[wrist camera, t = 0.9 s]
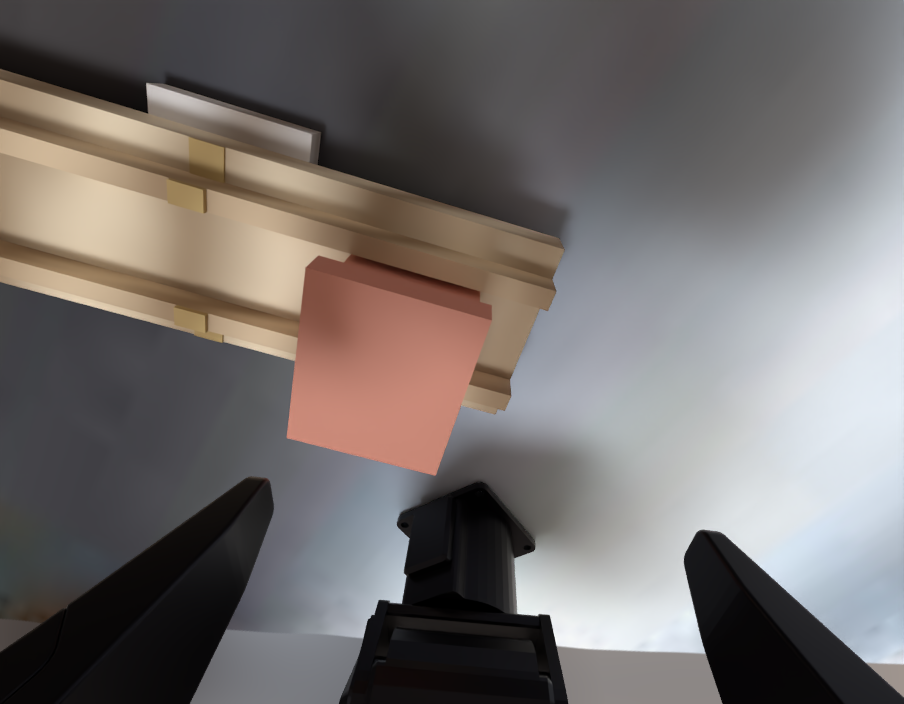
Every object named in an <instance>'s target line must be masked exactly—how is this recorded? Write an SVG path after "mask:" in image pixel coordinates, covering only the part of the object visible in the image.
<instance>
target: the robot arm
mask: <svg viewBox="0 0 904 704" xmlns="http://www.w3.org/2000/svg"><path fill="white" fill-rule="evenodd" d="M479 491H481V492H479ZM273 510H274V503H273V497H272V490H271V484H270V481H269V480H268V479H267V478H261V477H252V476H251V477H248V478H246V479H244V480H243V481H241V482H240V483H238V484H237V485H236V486H234V487H233V488H231V489H230V490H229V491H227V492H226V493H224V494H223V495H222V496H220V497H219V498H217V499H216V500H215V501H213V502H212V503H210V504H209V505H208V506H206V507H205V508H203V509H202V510H200V511H199V512H198V513H196V514H195V515H193V516H192V517H191V518H189V519H188V520H186V521H185V522H184V523H182V524H181V525H179V526H178V527H177V528H175V529H174V530H172V531H171V532H170V533H168V534H167V535H165V536H164V537H163V538H161V539H160V540H158V541H157V542H156V543H154V544H153V545H151V546H150V547H149V548H147V549H146V550H144V551H143V552H142V553H140V554H139V555H137V556H136V557H134V558H133V559H132V560H130V561H129V562H127V563H126V564H125V565H123V566H122V567H120V568H119V569H118V570H116V571H115V572H113V573H112V574H111V575H109V576H108V577H106V578H105V579H104V580H102V581H101V582H99V583H98V584H97V585H95V586H94V587H92V588H91V589H90V590H88V591H87V592H85V593H84V594H83V595H81V596H80V597H78V598H77V599H76V600H74V601H73V602H71V603H70V604H69V605H68V606H67V609H65V608H63V609H61V610H60V611H58V612H57V613H56V614H54V615H53V616H51V617H50V618H49V619H47V620H46V621H44V622H43V623H42V624H40V625H39V626H37V627H36V628H35V629H33V630H32V631H30V632H29V633H27V634H26V635H24V636H23V637H21V638H20V639H18V640H17V641H16V642H14V643H13V644H11V645H10V646H8V647H7V648H6V649H4V650H3V651H1V652H0V704H190V702H191V700H192V698H193V696H194V694H195V692H196V690H197V688H198V686H199V684H200V682H201V680H202V678H203V676H204V673H205V671H206V669H207V667H208V665H209V663H210V661H211V659H212V657H213V655H214V653H215V651H216V649H217V647H218V645H219V642H220V641H221V639H222V636H223V634H224V632H225V630H226V628H227V626H228V624H229V622H230V620H231V618H232V616H233V614H234V612H235V610H236V608H237V606H238V604H239V601H240V599H241V597H242V595H243V593H244V591H245V588H246V586H247V583H248V581H249V578H250V576H251V573H252V570H253V567H254V565H255V562H256V559H257V557H258V554H259V551H260V548H261V546H262V543H263V540H264V537H265V535H266V532H267V529H268V526H269V524H270V521H271V518H272V515H273ZM397 526H398V528H399V529H400V530H401V531H402V532H403V533H404V534H405V535H407V536H408V537H409V538H410V539H409V545H408V551H407V556H406V562H405V568H404V574H405V575H407V577H406V583H405V589H404V595H403V601H402V604H398V603H390V601H387V600H379V601H378V605H377V608H376V611H375V615H372V616H371V618H370V619H368V621H367V625H366V630H365V634H364V638H363V643H362V647H361V650H360V654H359V657H358V659H357V661H356V664H355V666H354V668H353V671H352V673H351V675H350V677H349V680H348V682H347V684H346V687H345V689H344V691H343V693H342V696H341V698H340V702H339V704H568V699H567V694H566V689H565V684H564V680H563V674H562V670H561V665H560V661H559V656H558V652H557V647H556V642H555V637H554V633H553V628H552V623H551V619H550V615H544V614H539V615H538V616H532V615H521V614H517V600H516V583H515V565H514V558H516V557H519V556H522V555H525V554H527V553H530V552H533V551H534V550H535V541H534V539H533V538H532V537H531V536H530V535H529V533H528V532H527V531H526V530H525V529H524V528H523V526H522V525H521V524H520V523H519V522H518V521H517V520H516V518H515V517H514V516H513V515H512V514H511V513H510V511H509V510H508V509H507V508H506V507H505V506H504V504H503V503H502V502H501V501H500V500H499V499H498V498H497V496H496V495H495V494H494V493H493V492H492V491H491V489H490V488H489V487H488V486H487V485H486V484H484V483H479V482H478V483H475V484H472V485H470V486H468V487H465V488H463V489H461V490H458V491H456V492H454V493H451V494H449V495H447V496H444V497H442V498H440V499H437V500H435V501H433V502H430V503H428V504H426V505H423V506H421V507H419V508H416V509H414V510H412V511H409V512H407V513H405V514H402V515H400V516H399V517H398V521H397ZM684 566H685V571H686V575H687V580H688V584H689V588H690V593H691V597H692V601H693V606H694V610H695V614H696V618H697V623H698V627H699V631H700V635H701V639H702V643H703V646H704V649H705V653H706V656H707V659H708V662H709V665H710V668H711V671H712V673H713V677H714V679H715V683H716V686H717V688H718V692H719V694H720V697H721V700H722V703H723V704H904V697H902V696H901V695H900V694H899V693H898V692H897V691H896V690H895V689H894V688H893V687H892V686H890V685H889V684H888V683H887V682H886V681H885V680H884V679H882V677H881V676H879V675H878V674H877V673H876V672H875V671H874V670H873V669H872V668H871V667H870V666H868V665H867V664H866V663H865V662H864V661H863V660H862V659H861V658H860V657H859V656H857V655H856V654H855V653H854V652H853V651H852V650H851V649H850V648H849V647H848V646H846V645H845V644H844V643H843V642H842V641H841V640H840V639H839V638H838V637H836V636H835V635H834V634H833V633H832V632H831V631H830V630H829V629H828V628H827V627H825V626H824V625H823V624H822V623H821V622H820V621H819V620H818V619H817V618H816V617H814V616H813V615H812V614H811V613H810V612H809V611H808V610H807V609H806V608H804V607H803V606H802V605H801V604H800V603H799V602H798V601H797V600H796V599H795V598H793V597H792V596H791V595H790V594H789V593H788V592H787V591H786V590H785V589H784V588H782V587H781V586H780V585H779V584H778V583H777V582H776V581H775V580H774V579H772V578H771V577H770V576H769V575H768V574H767V573H766V572H765V571H764V570H763V569H761V568H760V567H759V566H758V565H757V564H756V563H755V562H754V561H753V560H752V559H750V558H749V557H748V556H747V555H746V554H745V553H744V552H743V551H742V550H740V549H739V548H738V547H737V546H736V545H735V544H734V543H733V542H732V541H731V540H729V539H728V538H727V537H726V536H725V535H724V534H722V533H720V532H717V531H710V530H699V531H698V532H697V533H696V534H695V536H694V538H693V540H692V542H691V544H690V545H689V547H688V549H687V551H686V553H685V556H684Z"/></svg>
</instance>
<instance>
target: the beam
mask: <svg viewBox="0 0 904 704" xmlns="http://www.w3.org/2000/svg"><path fill="white" fill-rule="evenodd" d="M146 87H147V101H148V114H147V113H144V112H141V111H138V110H134V109H131V108H128V107H124V106H121V105H118V104H114V103H111V102H108V101H105V100H101V99H98V98H95V97H91V96H88V95H85V94H81V93H78V92H75V91H72V90H68V89H65V88H62V87H58V86H55V85H52V84H48V83H45V82H42V81H39V80H35V79H32V78H29V77H25V76H22V75H19V74H15V73H12V72H9V71H6V70H2V69H0V282H3V283H6V284H10V285H14V286H17V287H21V288H25V289H29V290H32V291H36V292H40V293H44V294H47V295H51V296H55V297H59V298H62V299H66V300H70V301H73V302H77V303H81V304H85V305H88V306H92V307H96V308H100V309H103V310H107V311H111V312H115V313H118V314H122V315H126V316H129V317H133V318H137V319H141V320H144V321H148V322H152V323H156V324H159V325H163V326H167V327H170V328H174V329H178V330H182V331H185V332H189V333H193V334H194V335H195V336H199V337H202V338H206V339H210V340H214V341H217V342H221V343H223V342H226V343H230V344H234V345H238V346H241V347H245V348H249V349H253V350H256V351H260V352H264V353H268V354H271V355H275V356H279V357H282V358H286V359H290V360H294V361H295V358H296V349H297V340H298V331H299V322H300V313H301V304H302V295H303V286H304V277H305V267H307V266H308V265H309V264H310V263H311V262H312V261H313V260H314V259H315V258H316V257H317V256H318V255H319V256H323V257H326V258H329V259H333V260H336V261H340V262H343V263H344V262H345V260H346V259H347V258H348V257H349V256H350V255H351V254H353V255H356V256H359V257H363V258H366V259H370V260H373V261H377V262H380V263H384V264H387V265H391V266H394V267H397V268H401V269H404V270H408V271H411V272H415V273H418V274H422V275H425V276H429V277H432V278H435V279H439V280H442V281H446V282H449V283H453V284H456V285H460V286H463V287H467V288H470V289H473V290H477V291H480V302H483V303H486V304H490V305H492V322H491V325H490V327H489V330H488V333H487V336H486V338H485V341H484V344H483V347H482V349H481V352H480V355H479V358H478V360H477V363H476V366H475V369H474V371H473V374H472V377H471V380H470V382H469V385H468V388H467V391H466V393H465V396H464V399H463V402H462V404H461V405H462V406H465V407H469V408H473V409H477V410H480V411H484V412H488V413H492V414H496V412H497V409H500V410H504V411H505V409H506V407H507V405H508V402H509V400H510V398H511V387H510V378H511V376H512V374H513V371H514V369H515V367H516V364H517V362H518V359H519V357H520V355H521V352H522V350H523V347H524V345H525V343H526V340H527V338H528V336H529V333H530V331H531V328H532V326H533V324H534V321H535V319H536V317H537V314H538V312H539V309H543V310H546V311H548V310H549V307H550V305H551V303H552V300H553V298H554V296H555V294H556V289H555V286H554V283H553V280H552V279H553V276H554V274H555V271H556V269H557V267H558V264H559V262H560V260H561V257H562V255H563V252H564V250H565V249H564V247H563V245H562V243H561V241H560V239H559V238H556V237H553V236H550V235H547V234H543V233H540V232H537V231H533V230H530V229H527V228H523V227H520V226H517V225H514V224H510V223H507V222H504V221H500V220H497V219H494V218H490V217H487V216H484V215H481V214H477V213H474V212H471V211H467V210H464V209H461V208H458V207H454V206H451V205H448V204H444V203H441V202H438V201H434V200H431V199H428V198H425V197H421V196H418V195H415V194H411V193H408V192H405V191H401V190H398V189H395V188H392V187H388V186H385V185H382V184H378V183H375V182H372V181H368V180H365V179H362V178H359V177H355V176H352V175H349V174H345V173H342V172H339V171H335V170H332V169H329V168H326V167H322V166H319V165H318V156H319V147H320V138H321V132H318V131H315V130H312V129H309V128H305V127H302V126H299V125H296V124H293V123H289V122H286V121H283V120H280V119H276V118H273V117H270V116H267V115H263V114H260V113H257V112H254V111H250V110H247V109H244V108H241V107H238V106H234V105H231V104H228V103H225V102H221V101H218V100H215V99H212V98H208V97H205V96H202V95H199V94H195V93H192V92H189V91H186V90H183V89H179V88H176V87H173V86H170V85H166V84H157V83H146Z"/></svg>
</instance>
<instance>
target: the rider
mask: <svg viewBox="0 0 904 704" xmlns="http://www.w3.org/2000/svg"><path fill="white" fill-rule="evenodd" d="M491 322H492V305H490V304H486V303H483V302H480V291H477V290H473V289H470V288H467V287H463V286H460V285H456V284H453V283H449V282H446V281H442V280H439V279H435V278H432V277H429V276H425V275H422V274H418V273H415V272H411V271H408V270H404V269H401V268H397V267H394V266H391V265H387V264H384V263H380V262H377V261H373V260H370V259H366V258H363V257H359V256H356V255H353V254H351V255H350V256H349V257H348V258H347V259H346V260H345V262H344V263H343V262H340V261H336V260H333V259H329V258H326V257H323V256H319V255H318V256H317V257H316V258H315V259H314V260H313V261H312V262H311V263H310V264H309V265H308V266H307V267H305V277H304V286H303V295H302V304H301V313H300V322H299V331H298V340H297V349H296V358H295V368H294V377H293V386H292V395H291V404H290V413H289V422H288V431H287V438H289V439H293V440H297V441H301V442H305V443H309V444H313V445H317V446H321V447H325V448H328V449H332V450H336V451H340V452H344V453H348V454H352V455H356V456H360V457H364V458H368V459H372V460H376V461H380V462H384V463H387V464H391V465H395V466H399V467H403V468H407V469H411V470H415V471H419V472H423V473H427V474H431V475H435V476H436V473H437V470H438V468H439V465H440V462H441V459H442V457H443V454H444V451H445V448H446V446H447V443H448V440H449V437H450V435H451V432H452V429H453V426H454V424H455V421H456V418H457V415H458V413H459V410H460V407H461V404H462V402H463V399H464V396H465V393H466V391H467V388H468V385H469V382H470V380H471V377H472V374H473V371H474V369H475V366H476V363H477V360H478V358H479V355H480V352H481V349H482V347H483V344H484V341H485V338H486V336H487V333H488V330H489V327H490V325H491Z"/></svg>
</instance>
